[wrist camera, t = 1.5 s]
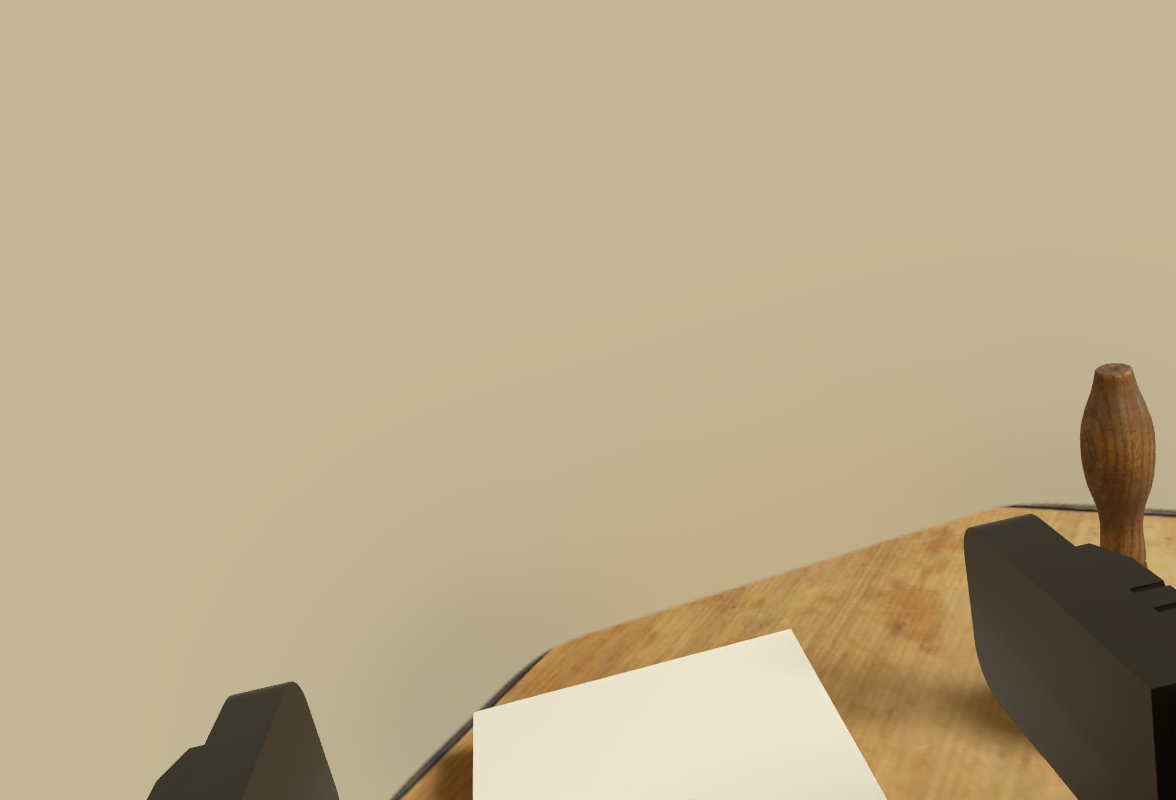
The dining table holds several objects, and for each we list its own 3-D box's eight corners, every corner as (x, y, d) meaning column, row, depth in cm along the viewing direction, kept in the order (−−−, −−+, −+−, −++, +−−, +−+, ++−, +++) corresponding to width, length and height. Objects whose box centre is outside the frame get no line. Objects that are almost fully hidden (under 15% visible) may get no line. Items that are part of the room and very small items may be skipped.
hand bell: (1074, 644, 49) (1045, 329, 44) (1277, 696, 43) (1270, 337, 38) (993, 745, 44) (949, 402, 39) (1209, 819, 38) (1190, 425, 33)
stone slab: (800, 679, 51) (790, 628, 50) (902, 871, 39) (892, 808, 38) (489, 762, 51) (473, 712, 50) (493, 982, 39) (471, 921, 38)
